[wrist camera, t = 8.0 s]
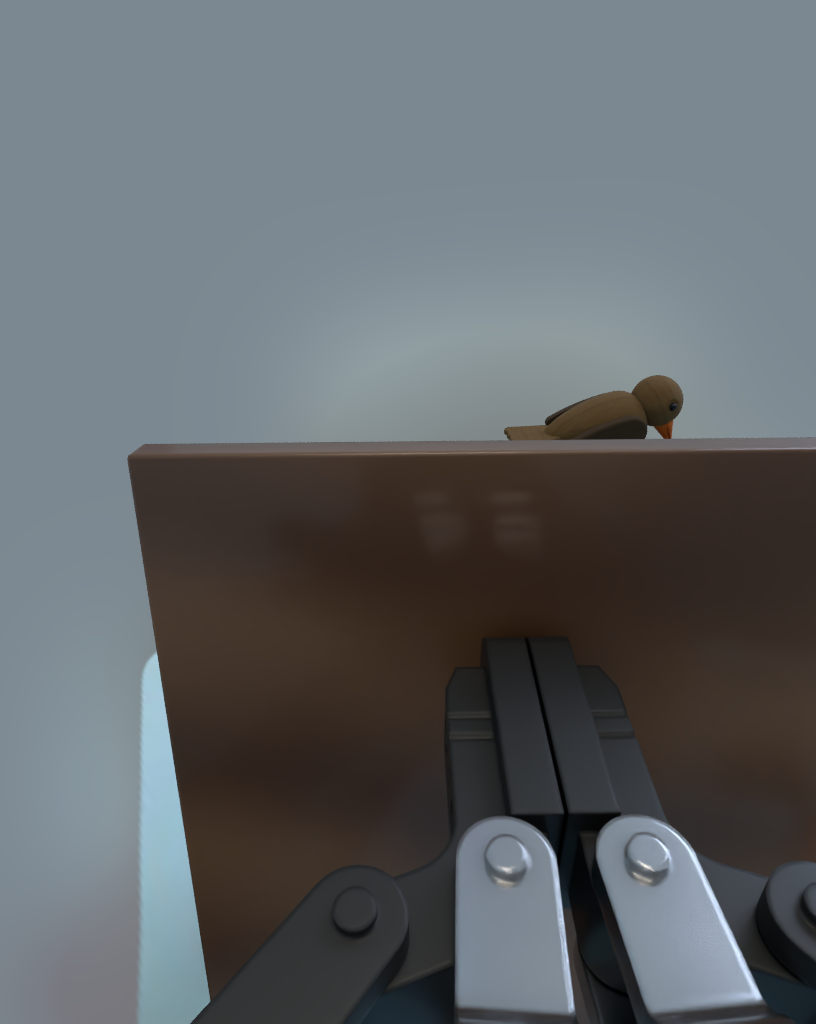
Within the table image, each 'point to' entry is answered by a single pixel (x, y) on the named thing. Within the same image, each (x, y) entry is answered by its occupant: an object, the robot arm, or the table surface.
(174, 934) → the table surface
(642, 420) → the music box
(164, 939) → the table surface
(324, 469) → the lid
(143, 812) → the table surface
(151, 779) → the table surface
